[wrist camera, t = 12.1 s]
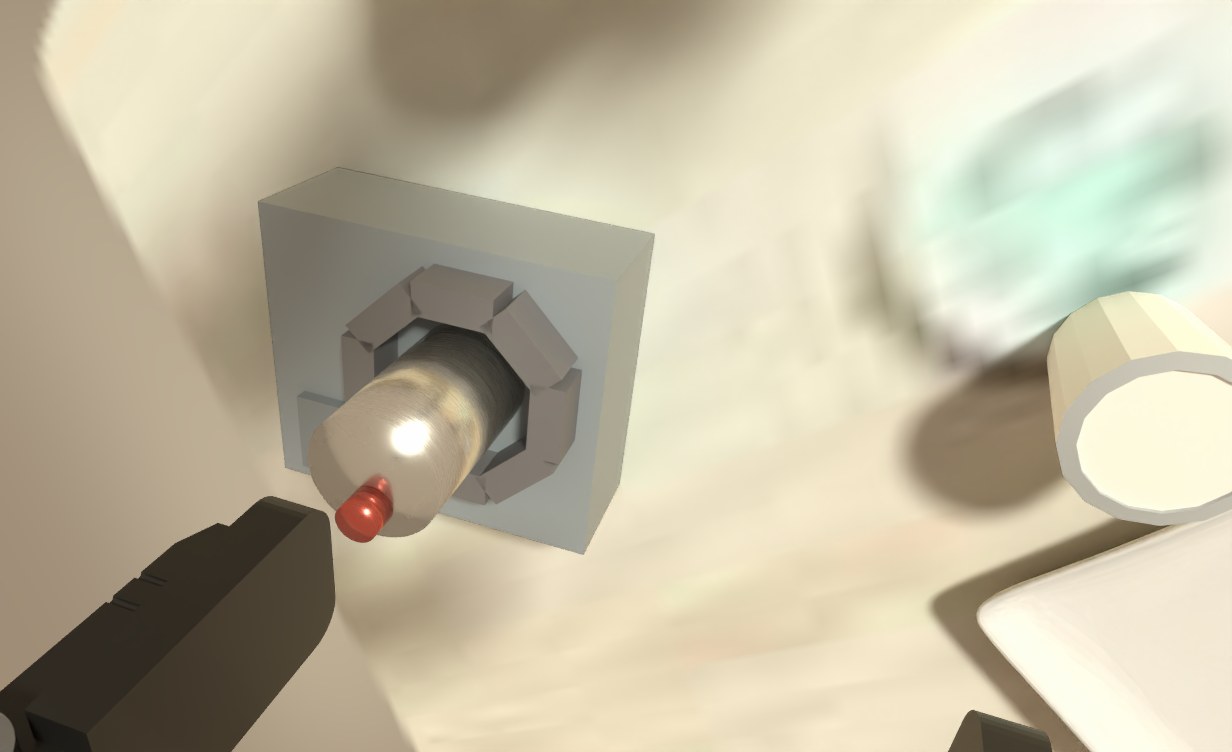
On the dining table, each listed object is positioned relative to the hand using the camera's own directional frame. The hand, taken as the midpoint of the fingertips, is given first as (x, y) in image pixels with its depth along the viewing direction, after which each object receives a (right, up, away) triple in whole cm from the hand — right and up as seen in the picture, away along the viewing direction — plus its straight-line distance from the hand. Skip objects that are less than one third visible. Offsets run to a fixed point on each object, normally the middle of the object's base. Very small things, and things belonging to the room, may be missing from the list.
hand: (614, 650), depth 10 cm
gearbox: (-7, +4, +33) cm, 34 cm away
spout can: (-6, +3, +26) cm, 27 cm away
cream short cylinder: (+21, +4, +24) cm, 32 cm away
